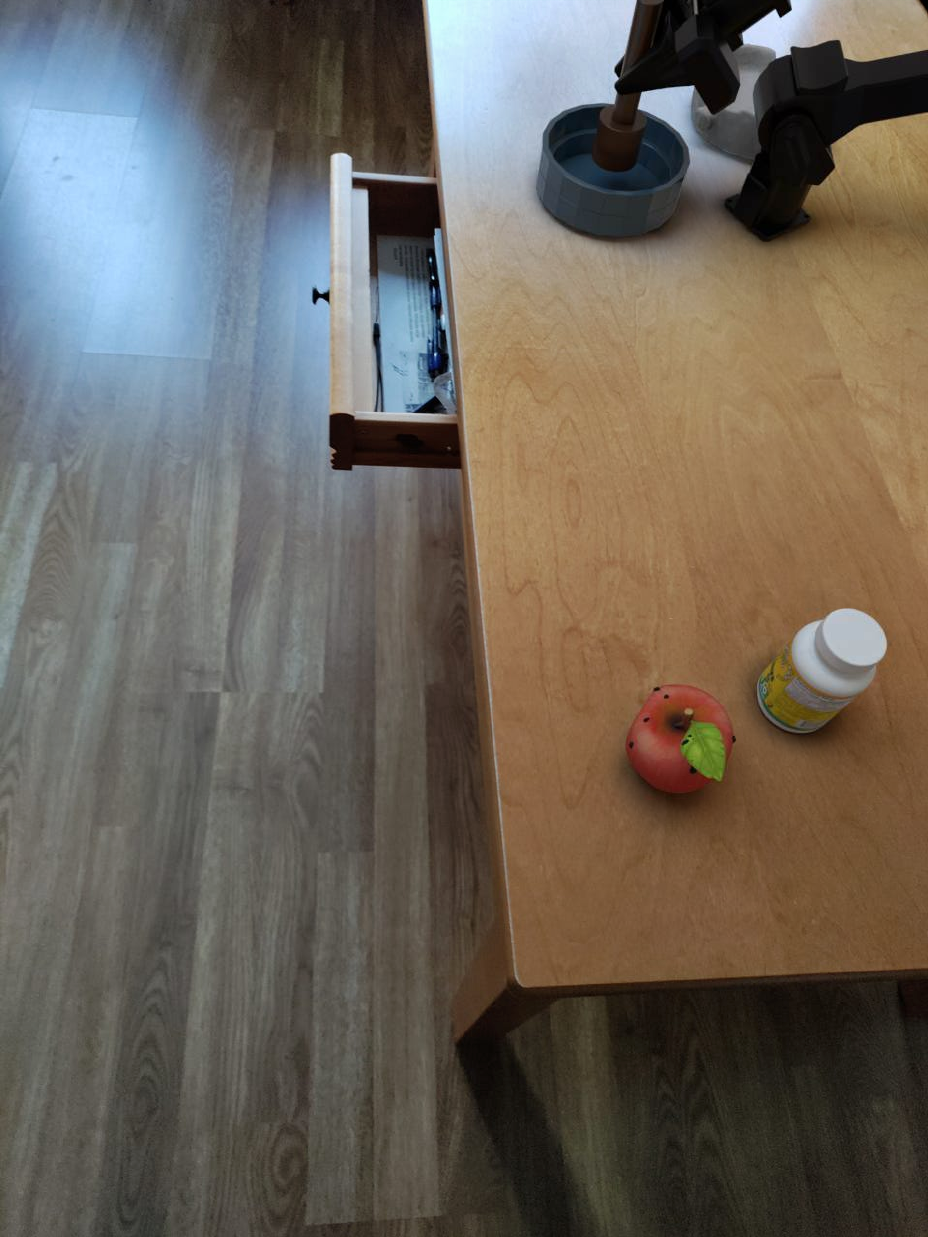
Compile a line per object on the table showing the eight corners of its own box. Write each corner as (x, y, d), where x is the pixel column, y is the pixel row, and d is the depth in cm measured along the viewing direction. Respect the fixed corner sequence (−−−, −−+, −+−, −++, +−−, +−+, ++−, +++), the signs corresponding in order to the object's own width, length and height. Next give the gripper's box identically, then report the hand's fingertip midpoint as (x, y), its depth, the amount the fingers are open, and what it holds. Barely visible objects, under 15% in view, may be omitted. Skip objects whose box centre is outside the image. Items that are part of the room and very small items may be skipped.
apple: (592, 732, 58) (627, 670, 50) (678, 698, 60) (726, 632, 51) (647, 837, 55) (694, 790, 46) (735, 798, 57) (798, 745, 48)
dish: (720, 74, 98) (735, 27, 94) (830, 124, 95) (851, 77, 91) (658, 131, 92) (672, 84, 88) (774, 186, 89) (793, 140, 85)
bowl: (617, 136, 91) (629, 88, 87) (703, 214, 86) (720, 167, 82) (507, 174, 87) (513, 126, 82) (591, 259, 82) (602, 212, 77)
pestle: (645, 163, 83) (688, 3, 71) (610, 177, 82) (647, 17, 69) (617, 139, 85) (653, -22, 72) (582, 152, 83) (613, -9, 71)
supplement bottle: (805, 750, 59) (874, 694, 50) (739, 702, 60) (795, 639, 52) (842, 696, 61) (913, 633, 53) (777, 651, 62) (837, 583, 54)
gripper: (731, -200, 67) (566, -51, 76) (748, -86, 58) (559, 66, 67) (791, -69, 74) (633, 52, 83) (815, 51, 65) (635, 172, 74)
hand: (616, 81), depth 77 cm, fingers closed on pestle, 2 cm apart
